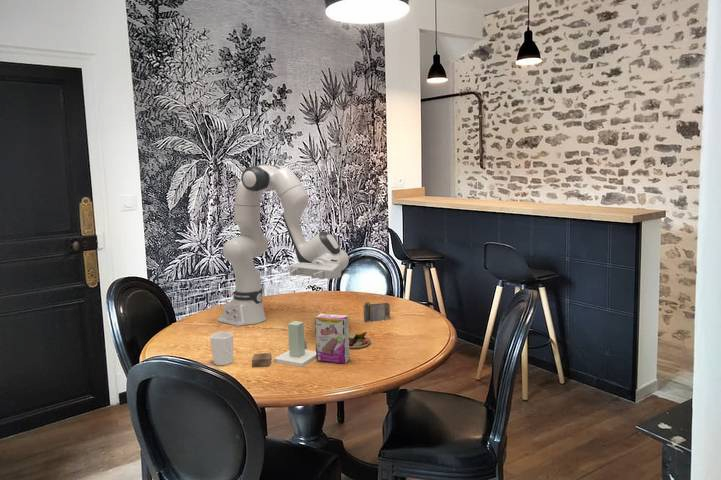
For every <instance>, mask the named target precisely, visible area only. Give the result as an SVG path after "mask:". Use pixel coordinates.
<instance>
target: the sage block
mask: <svg viewBox="0 0 721 480" xmlns="http://www.w3.org/2000/svg"><path fill="white" fill-rule="evenodd" d="M287 329H288V334H287V335H288V350H289V355H290V357H296V358H300V357H301V356H303V355H305V350H306V349H305V341H306V340H305V324H304V321H298V320H297V321H296V320H293V321H291V322H290V323H288V324H287ZM304 340H305V341H304Z"/></svg>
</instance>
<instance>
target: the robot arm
mask: <svg viewBox="0 0 721 480" xmlns="http://www.w3.org/2000/svg"><path fill="white" fill-rule="evenodd" d="M270 191H275V193H276V194H277V196H278V198H279V199H280V201H281V204H282V207H283V208H282V209H283V215H282V217H283V218H282V219H283V221H284V225H285V228H286V230H287V233H288V235H289V238H290V239H291V242H292V245H293V247H294V251H295V255H296V258H297V261H298V262H297V263H293V264H290V265H289V267H288V270H289V274H290V276H292V277H295V276H304V277H311V279H320V280H323V279H324V280H325V279H328V280H334V279H339V278H341V277H342V271H344V270H345V269H346V268H347V266H348V265H349V261H350V260H349V255H348V253H347V252H346V251H345V250H343V249H341V247H340V244H339V242H338V239H337V238H336V237H335V235H333V234H331V233H330V232H328V231H322V230H321V231H320V232H318V233H317V234H316V235H315V236H312V238H311V239H309V240H307V241H306V238H305V235H304V233H303V230H302V229H301V219H302V216H303V213H304V212H305V210H306V208H307V206H308V204H309V196H308V192H307V190H306V188H305V187H304V185H303V183H302V182H301V180H300V179H299V177H298V176H297V175H296V174H295V173H294V172H293V170H291V169H290V168H289V167H280V166H277V165H272V164H271V165H270V164H262V165H261V164H260V165H251V166H248V167H246V168H245V169H244V170H243V172H242V173H241V180H240V181H238V183H237V185H236V189H235V196H234V215H233V217H234V219H233V221H234V223H235V225H237V226H238V228H239V231H240V233H239V234H240V236H235V237H233V238H231V239H229V240H227V241H226V242H225V243H224V244H223V247H222V254H223V257H224V259H226V260H227V261H228V262H229V263H230V265H231V268H232V270H233V273H234V280H235V291H232V292H231V296H232V295H233V298H232V299H231V300H230V301H229V302H227V303H226V304H225V305H224V306H223V307H222V314H221V316H218V318H217V319H216V320H217V322H220V323H224V324H228V325H232V326H236V327H239V326H240V327H241V326H245V325H255V324H259V323H263V322H265V321H266V320H267V317H266V313H265V310H264V304H263V289H262V281H261V279H262V278H261V272H260V270H259V269H257V268H256V266H255V262H254V258H258V257H260V256H262V255H263V254H265V253H266V252H267V250H268V248H269V242H268V238H267V237H266V236H265V235H264V234H263V230H262V226H261V197H262V196H261V195H262V194H263V193H264V192H270Z"/></svg>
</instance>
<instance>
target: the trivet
mask: <svg viewBox="0 0 721 480" xmlns="http://www.w3.org/2000/svg"><path fill="white" fill-rule="evenodd" d="M315 359H316V350H309V349H308V350H307V349H305V355H303V356H301V357H300V358H296V357H290V355H289V349H288V350H287V351H285V352H283V353H281V354H279V355H278V356H276V357H275V358H273V362H274V363H278V364H283V365H291V366H296V367H303V368H304V367H305V366H306V365H308V364H309V363H311V362H312V361H314V360H315Z"/></svg>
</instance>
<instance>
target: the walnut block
mask: <svg viewBox="0 0 721 480" xmlns="http://www.w3.org/2000/svg"><path fill="white" fill-rule="evenodd" d="M271 360H272V352H267V353H266V352H265V353H253V356H252V359H251V367H252V368H266V367H267V368H268V367H269V366H271V363H272V361H271Z"/></svg>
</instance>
